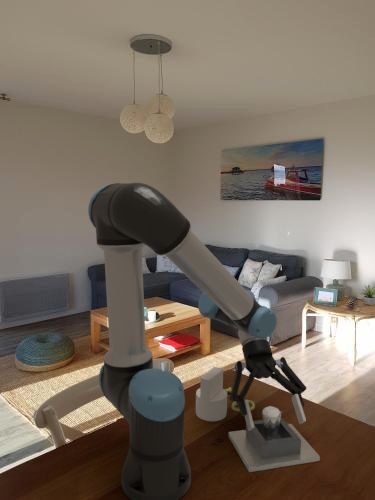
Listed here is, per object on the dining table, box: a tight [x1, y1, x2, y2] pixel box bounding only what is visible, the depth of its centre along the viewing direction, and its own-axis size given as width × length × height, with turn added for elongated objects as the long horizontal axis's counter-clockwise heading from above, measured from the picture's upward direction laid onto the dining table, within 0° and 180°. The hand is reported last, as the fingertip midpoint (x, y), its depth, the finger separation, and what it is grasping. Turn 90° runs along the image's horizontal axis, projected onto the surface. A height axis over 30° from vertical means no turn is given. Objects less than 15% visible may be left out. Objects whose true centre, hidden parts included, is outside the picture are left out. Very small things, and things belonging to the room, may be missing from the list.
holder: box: [228, 416, 321, 473], centre depth 99 cm, size 18×14×5 cm
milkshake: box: [261, 405, 283, 441], centre depth 99 cm, size 4×5×10 cm
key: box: [223, 386, 256, 412], centre depth 121 cm, size 7×12×2 cm, turn 37°
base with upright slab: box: [195, 366, 228, 422], centre depth 115 cm, size 9×9×12 cm
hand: (277, 425), depth 96 cm, fingers open, 13 cm apart
